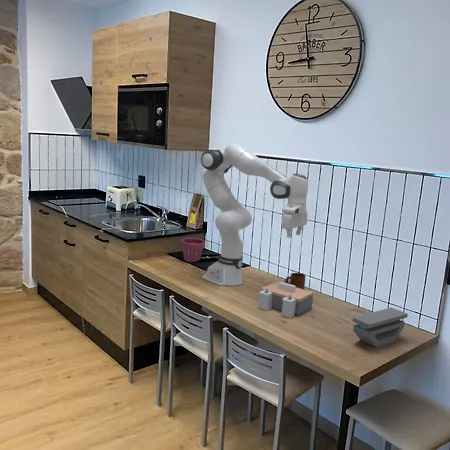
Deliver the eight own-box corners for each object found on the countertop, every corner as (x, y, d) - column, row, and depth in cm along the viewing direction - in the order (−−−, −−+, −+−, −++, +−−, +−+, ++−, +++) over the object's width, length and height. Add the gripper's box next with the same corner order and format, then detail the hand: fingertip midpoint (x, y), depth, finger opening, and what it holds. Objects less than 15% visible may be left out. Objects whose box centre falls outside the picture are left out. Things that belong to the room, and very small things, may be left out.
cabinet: (255, 307, 222) (257, 287, 220) (274, 297, 236) (276, 279, 234) (293, 319, 210) (296, 298, 209) (311, 308, 225) (313, 289, 223)
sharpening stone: (365, 351, 183) (369, 324, 181) (349, 343, 189) (352, 317, 187) (404, 338, 198) (407, 313, 196) (387, 331, 204) (391, 307, 202)
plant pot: (205, 264, 286) (207, 243, 284) (182, 264, 282) (184, 243, 280) (200, 257, 299) (201, 237, 297) (178, 258, 295) (179, 237, 293)
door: (255, 292, 220) (256, 284, 219) (275, 284, 235) (276, 276, 234) (294, 304, 208) (295, 295, 208) (313, 294, 223) (314, 286, 222)
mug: (289, 296, 239) (290, 278, 238) (279, 291, 246) (281, 274, 244) (306, 293, 246) (308, 276, 244) (297, 289, 252) (298, 271, 250)
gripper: (300, 205, 240) (297, 232, 243) (280, 208, 224) (277, 237, 226) (311, 207, 237) (308, 234, 239) (292, 210, 220) (289, 240, 223)
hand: (293, 236), depth 233 cm, fingers open, 8 cm apart
